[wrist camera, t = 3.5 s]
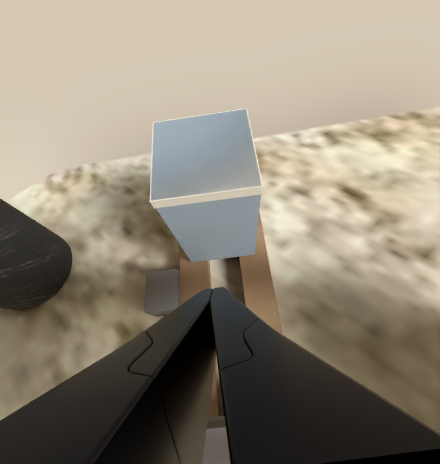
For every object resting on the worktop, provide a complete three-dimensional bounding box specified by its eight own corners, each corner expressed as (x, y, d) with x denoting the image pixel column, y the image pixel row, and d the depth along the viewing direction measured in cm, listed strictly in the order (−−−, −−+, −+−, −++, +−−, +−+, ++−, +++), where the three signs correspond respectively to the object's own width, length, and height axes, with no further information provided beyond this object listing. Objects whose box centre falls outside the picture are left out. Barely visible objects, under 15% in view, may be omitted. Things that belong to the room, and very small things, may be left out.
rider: (255, 261, 20) (262, 186, 11) (195, 269, 20) (149, 201, 11) (246, 209, 22) (246, 108, 13) (192, 216, 23) (152, 121, 13)
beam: (306, 484, 14) (326, 531, 11) (152, 495, 15) (122, 543, 11) (248, 168, 25) (249, 138, 21) (159, 180, 25) (144, 153, 22)
